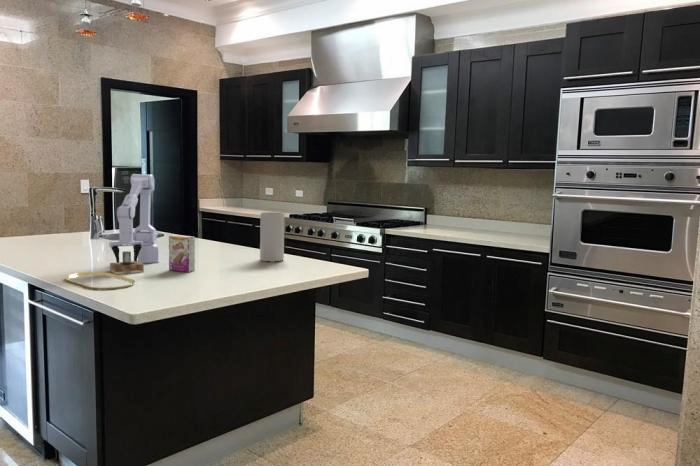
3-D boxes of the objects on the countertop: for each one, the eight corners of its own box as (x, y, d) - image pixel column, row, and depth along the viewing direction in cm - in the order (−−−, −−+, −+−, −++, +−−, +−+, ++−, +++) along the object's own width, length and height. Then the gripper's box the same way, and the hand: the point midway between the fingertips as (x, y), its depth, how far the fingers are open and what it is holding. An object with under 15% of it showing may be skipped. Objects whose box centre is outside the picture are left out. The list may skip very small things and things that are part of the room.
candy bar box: (168, 270, 255) (168, 235, 253) (175, 268, 260) (174, 234, 258) (188, 272, 251) (188, 237, 249) (195, 270, 256) (195, 236, 254)
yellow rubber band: (100, 273, 245) (99, 270, 245) (144, 286, 224) (144, 282, 224) (56, 279, 230) (56, 276, 230) (99, 293, 209) (99, 289, 209)
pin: (129, 268, 253) (129, 251, 252) (131, 269, 250) (131, 252, 249) (121, 268, 250) (121, 251, 249) (123, 270, 248) (123, 252, 247)
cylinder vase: (268, 263, 282) (268, 214, 279) (255, 259, 291) (256, 212, 288) (288, 260, 290) (289, 214, 287) (275, 257, 300) (275, 212, 297)
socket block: (137, 268, 258) (137, 260, 257) (143, 271, 250) (143, 264, 249) (110, 270, 251) (110, 263, 250) (115, 274, 243) (115, 266, 242)
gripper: (111, 234, 240) (112, 264, 242) (145, 232, 249) (145, 261, 251) (107, 232, 246) (108, 261, 248) (140, 230, 255) (141, 259, 256)
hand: (126, 261), depth 250 cm, fingers open, 7 cm apart
